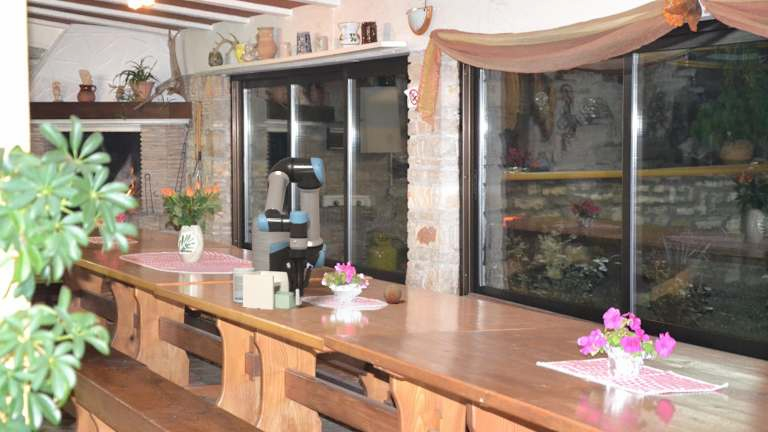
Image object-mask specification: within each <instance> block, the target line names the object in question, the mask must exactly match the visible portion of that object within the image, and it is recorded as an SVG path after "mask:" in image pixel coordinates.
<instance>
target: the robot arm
mask: <svg viewBox="0 0 768 432" xmlns="http://www.w3.org/2000/svg"><path fill="white" fill-rule="evenodd" d="M267 180H268V181H267V182H268V184H269V185H268V190H267V197H266V200H265V206H264V211H263V212H264V214H260V215H259V216H258V215H257V217H258V230H259V231H261V232H290V241H280V242H275V243H272V244H271V245H270V248H269V271H275V272H287V276H288V281H289V292H294V296H295V297H296V305H299V306H300V305H303V304H302V303H303V297H304V292H305V291H304V289H307V288H308V287H309V283H310V279H311V275H312V271H313V270H314V269H322V268H323V267H324V264H325V260H326V259H325V258H326V251H327V244H326V243H324V240H323V238H322V237H321V234H320V233H321V232H320V231H321V230H320V227H321V226H320V189H321V188H323V184H325V183H326V170H325V166H324V161H323V159H321V158H319V157H314V156H313V157H312V156H310V157H305V156H303V157H302V156H301V157H291V156H290V157H285V158H282V159H281V160H279V161H278V162H277V163H275V164H274V165H273V166H272V168H271V169H270V171H269V173H268V177H267ZM289 183H290V184H292V183H293V184H296V188H297V189H298V190H299V191H300V193H299V194H300V195H299V196H300V201H299V202H300V210H296V211H295V210H294V211H290V213H289V214H285V215H283V214H282V212H283V208H284V203H285V196H286V190H287V187H288V186H289ZM305 269H306V270H305Z"/></svg>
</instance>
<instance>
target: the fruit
mask: <svg viewBox="0 0 768 432" xmlns="http://www.w3.org/2000/svg"><path fill="white" fill-rule="evenodd" d="M402 296H403V295H402V289H401V288H400V286H398V285H396V284H389V285H387V286H386V287H385V288H384V290H383V298H384V300H385V301H386V302H387V303H388V304H390V305H391V304H397V303H399V302H400V300H401V298H402Z"/></svg>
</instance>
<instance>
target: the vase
mask: <svg viewBox="0 0 768 432" xmlns="http://www.w3.org/2000/svg"><path fill="white" fill-rule="evenodd" d="M260 214H264V211H259V212H258V213H257V216H256V217H254V218H253V219H252V225H251V227H252V228H251V229H252V230H251V231H252V233H251V258H252V259H251V263H252V264H251V265H252V267H251V268H254V269H255V272H256V271H269V248H270V245H271V244H272V243H275V242H280V241H290V232H261V231H259V230H258V216H259V215H260ZM282 214H283V215H286V212H284V211H282Z"/></svg>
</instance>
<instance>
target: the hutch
mask: <svg viewBox="0 0 768 432" xmlns="http://www.w3.org/2000/svg"><path fill="white" fill-rule="evenodd" d="M274 291H281V292H289V281H288V276H287V272H275V271H256V272H251V273H247V274H243V303H242V308H243V307H247V309H257V308H260V309H259V310H275V309H274Z"/></svg>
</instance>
